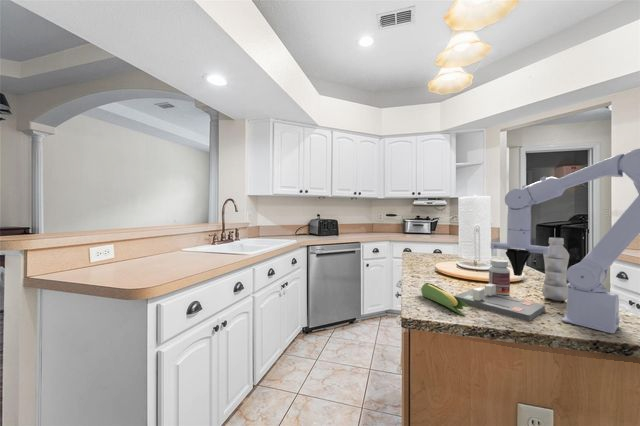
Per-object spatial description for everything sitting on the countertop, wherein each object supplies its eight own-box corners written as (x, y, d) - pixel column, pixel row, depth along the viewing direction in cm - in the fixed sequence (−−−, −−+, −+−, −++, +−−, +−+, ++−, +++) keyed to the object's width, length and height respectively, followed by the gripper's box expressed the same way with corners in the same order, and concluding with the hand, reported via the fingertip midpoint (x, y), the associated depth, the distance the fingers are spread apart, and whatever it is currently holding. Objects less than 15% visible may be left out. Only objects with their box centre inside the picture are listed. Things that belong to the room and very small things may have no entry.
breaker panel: (544, 310, 80) (544, 304, 80) (529, 321, 72) (529, 315, 72) (472, 293, 96) (472, 288, 96) (453, 300, 88) (453, 295, 88)
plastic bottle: (557, 297, 93) (559, 237, 93) (574, 303, 86) (575, 239, 86) (537, 296, 94) (538, 236, 93) (551, 303, 87) (553, 239, 86)
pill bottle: (514, 295, 95) (514, 261, 95) (497, 295, 94) (498, 262, 94) (500, 289, 101) (500, 258, 101) (484, 290, 100) (485, 259, 100)
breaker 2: (495, 293, 90) (495, 284, 90) (490, 295, 88) (491, 286, 88) (489, 292, 91) (489, 283, 91) (484, 294, 89) (484, 285, 89)
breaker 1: (484, 298, 85) (484, 288, 85) (479, 300, 83) (479, 290, 83) (478, 297, 87) (478, 287, 87) (472, 299, 84) (473, 289, 84)
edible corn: (430, 294, 96) (430, 281, 95) (473, 316, 76) (473, 300, 76) (416, 295, 95) (416, 281, 94) (456, 318, 75) (456, 301, 75)
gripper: (486, 228, 87) (485, 272, 87) (544, 232, 75) (543, 282, 75) (496, 228, 91) (495, 269, 91) (552, 231, 79) (551, 278, 79)
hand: (517, 275), depth 83 cm, fingers closed
